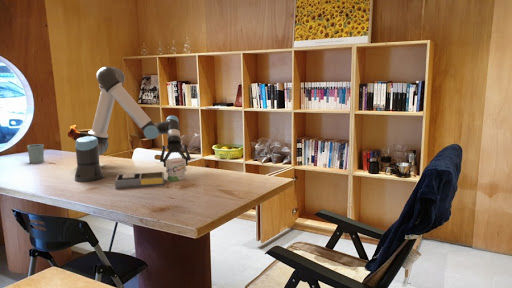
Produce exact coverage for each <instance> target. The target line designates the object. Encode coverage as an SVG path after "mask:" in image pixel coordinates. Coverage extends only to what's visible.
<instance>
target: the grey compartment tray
mask: <svg viewBox="0 0 512 288" xmlns="http://www.w3.org/2000/svg"><path fill="white" fill-rule="evenodd" d="M114 182H115V183H114V185H115V190H123V189H136V188H149V187H151V188H152V187H164V186H165V173H164V171H156V172H140V173H139V172H138V173H135V172H131V173H123V174H117V176H116V178H115V181H114Z"/></svg>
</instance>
